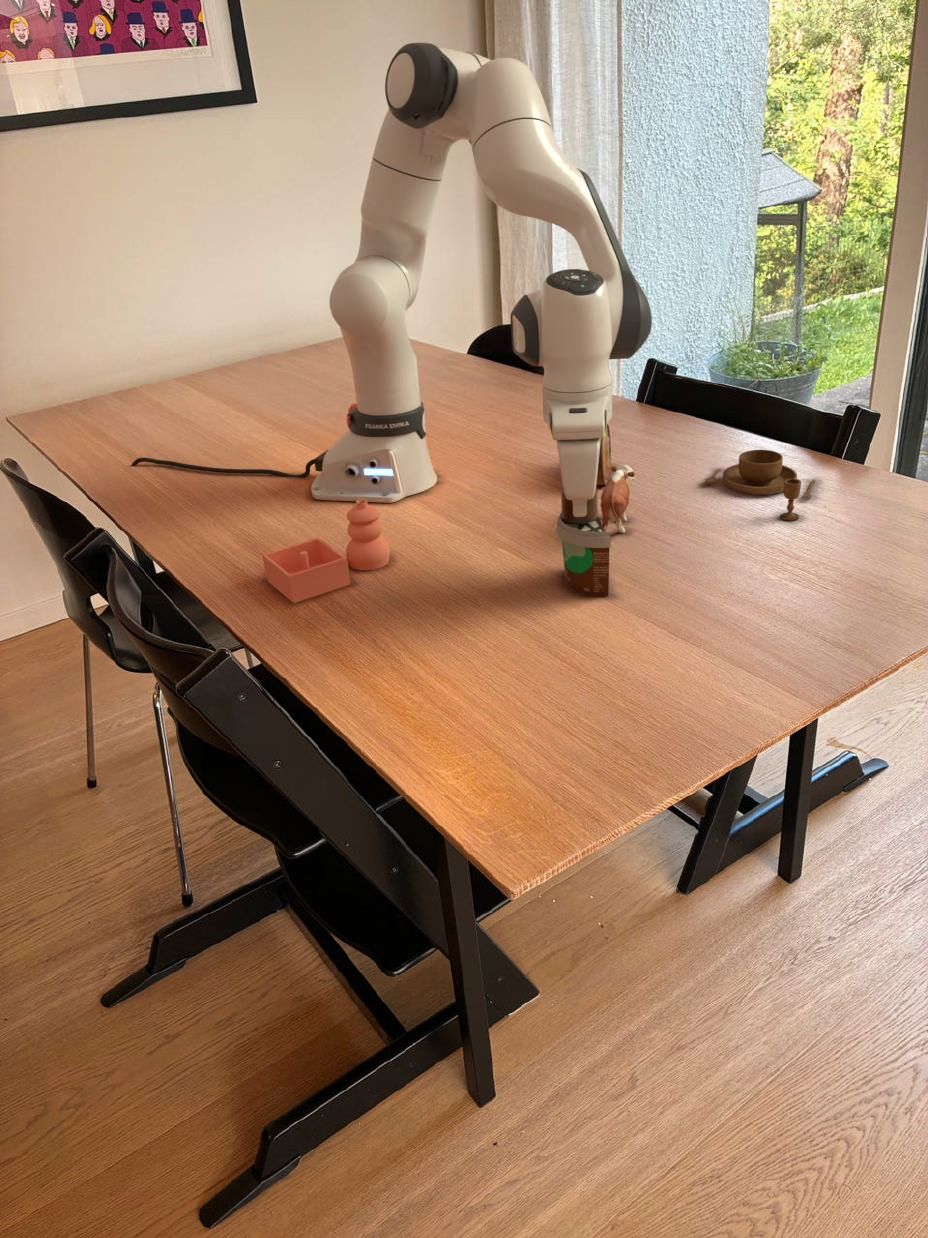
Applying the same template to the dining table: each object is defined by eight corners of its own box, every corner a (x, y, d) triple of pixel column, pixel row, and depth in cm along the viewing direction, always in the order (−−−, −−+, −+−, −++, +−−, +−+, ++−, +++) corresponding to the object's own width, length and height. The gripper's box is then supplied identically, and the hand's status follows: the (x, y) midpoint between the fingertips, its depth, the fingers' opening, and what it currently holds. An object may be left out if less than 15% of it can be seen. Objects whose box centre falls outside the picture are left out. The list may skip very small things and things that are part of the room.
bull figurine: (638, 508, 161) (639, 460, 157) (622, 543, 150) (622, 492, 146) (611, 507, 163) (611, 459, 159) (593, 540, 152) (593, 490, 148)
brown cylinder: (561, 524, 133) (561, 496, 131) (561, 510, 137) (561, 483, 135) (598, 523, 133) (597, 495, 131) (597, 509, 137) (596, 481, 135)
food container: (551, 566, 145) (548, 502, 140) (592, 562, 145) (592, 498, 140) (565, 605, 134) (563, 537, 129) (610, 601, 134) (610, 533, 130)
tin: (605, 492, 168) (605, 444, 164) (586, 492, 169) (586, 444, 165) (612, 461, 181) (612, 416, 177) (594, 461, 182) (594, 416, 178)
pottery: (293, 603, 141) (282, 539, 136) (267, 580, 148) (255, 519, 143) (403, 566, 149) (397, 504, 144) (373, 546, 156) (366, 487, 151)
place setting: (820, 476, 168) (823, 442, 165) (801, 522, 152) (804, 485, 149) (715, 467, 175) (717, 435, 172) (687, 510, 159) (688, 475, 156)
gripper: (553, 383, 137) (556, 478, 144) (551, 431, 119) (555, 537, 126) (600, 381, 136) (600, 476, 143) (605, 429, 118) (606, 535, 125)
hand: (579, 505), depth 134 cm, fingers closed on brown cylinder, 5 cm apart
